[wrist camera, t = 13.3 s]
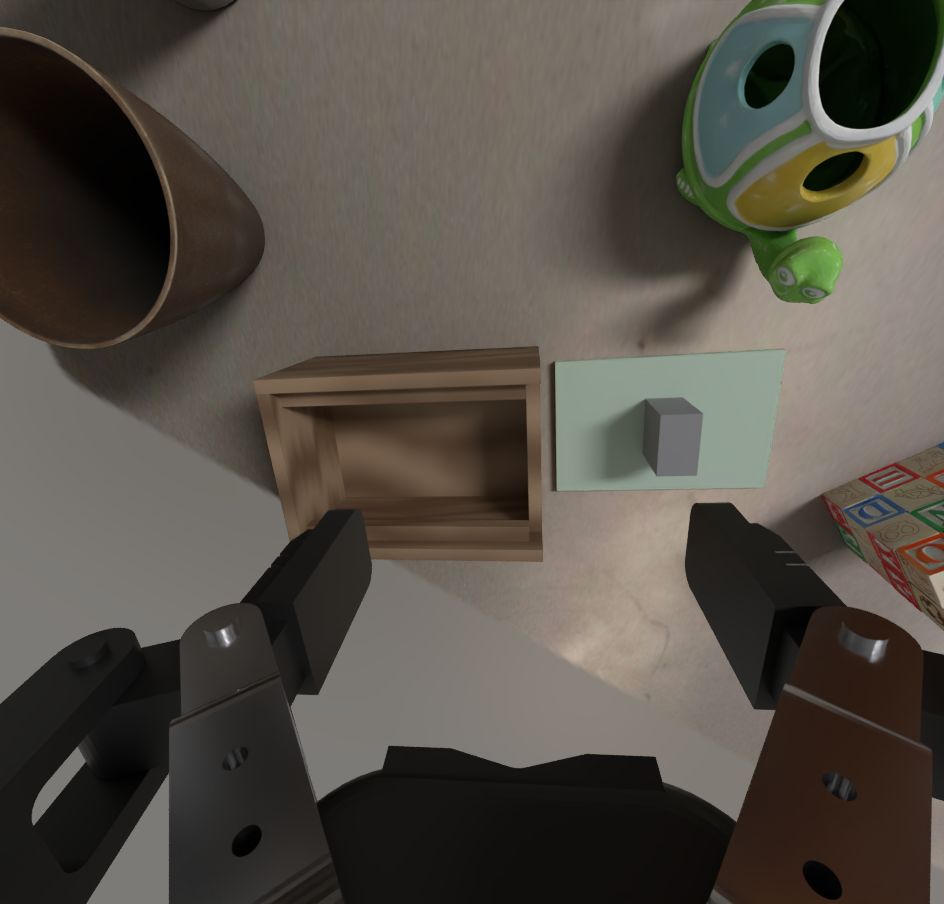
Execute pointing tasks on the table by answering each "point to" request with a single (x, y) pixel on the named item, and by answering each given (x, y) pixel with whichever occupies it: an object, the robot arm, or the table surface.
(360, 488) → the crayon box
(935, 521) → the stack of blocks
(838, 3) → the turtle holder
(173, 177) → the plant pot
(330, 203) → the table surface
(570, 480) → the lid
